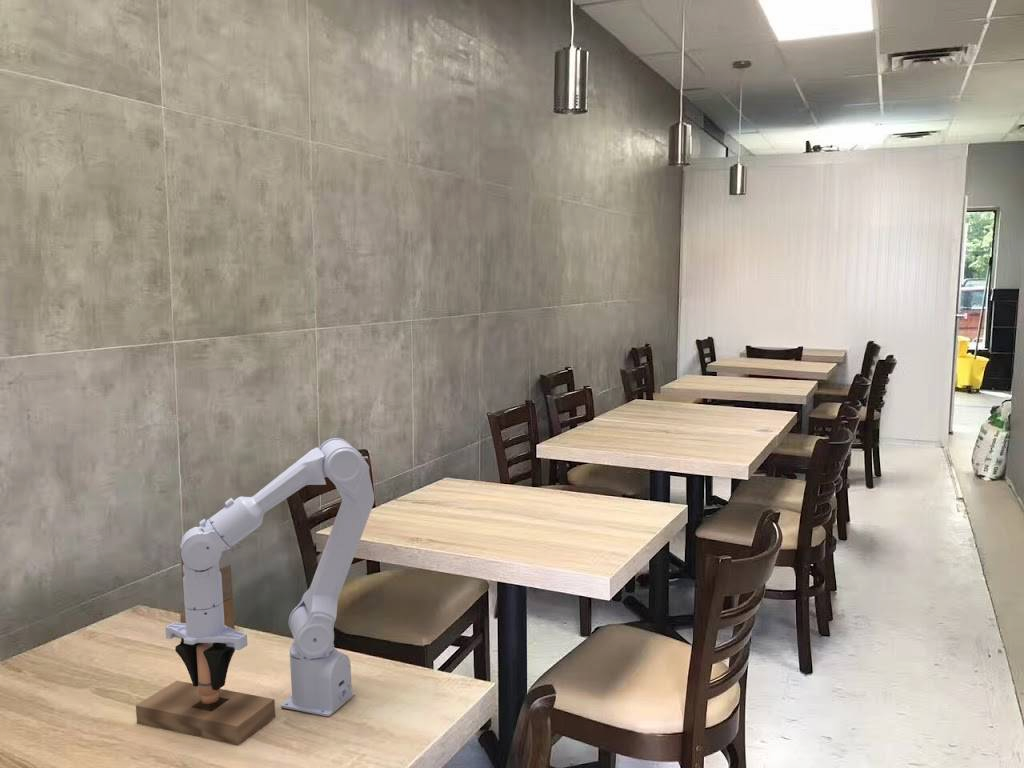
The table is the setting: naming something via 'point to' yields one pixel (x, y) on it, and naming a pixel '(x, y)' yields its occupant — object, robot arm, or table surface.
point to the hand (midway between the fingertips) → (209, 685)
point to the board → (206, 713)
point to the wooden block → (226, 595)
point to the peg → (205, 676)
